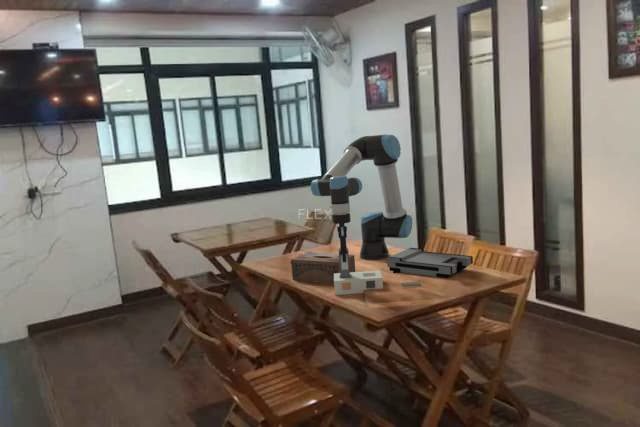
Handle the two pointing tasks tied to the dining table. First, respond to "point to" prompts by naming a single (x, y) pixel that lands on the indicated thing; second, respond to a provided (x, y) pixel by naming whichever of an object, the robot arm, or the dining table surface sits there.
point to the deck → (411, 284)
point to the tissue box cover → (318, 266)
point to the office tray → (428, 263)
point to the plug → (345, 272)
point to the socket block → (357, 282)
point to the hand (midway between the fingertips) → (344, 267)
